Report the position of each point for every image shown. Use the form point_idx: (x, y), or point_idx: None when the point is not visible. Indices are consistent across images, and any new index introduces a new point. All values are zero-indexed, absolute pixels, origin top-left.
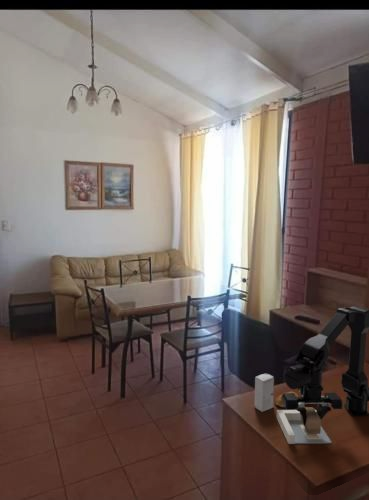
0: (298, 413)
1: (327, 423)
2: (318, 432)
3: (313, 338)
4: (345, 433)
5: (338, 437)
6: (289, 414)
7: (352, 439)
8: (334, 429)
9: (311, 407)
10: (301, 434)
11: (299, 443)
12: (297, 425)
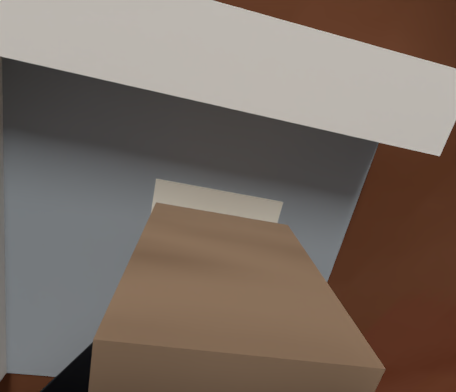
0: (173, 95)
1: (429, 194)
2: None
3: None
4: (450, 320)
5: (371, 347)
6: (32, 62)
7: (438, 372)
8: (417, 272)
9: (348, 368)
10: (107, 299)
11: (50, 371)
12: (129, 181)
